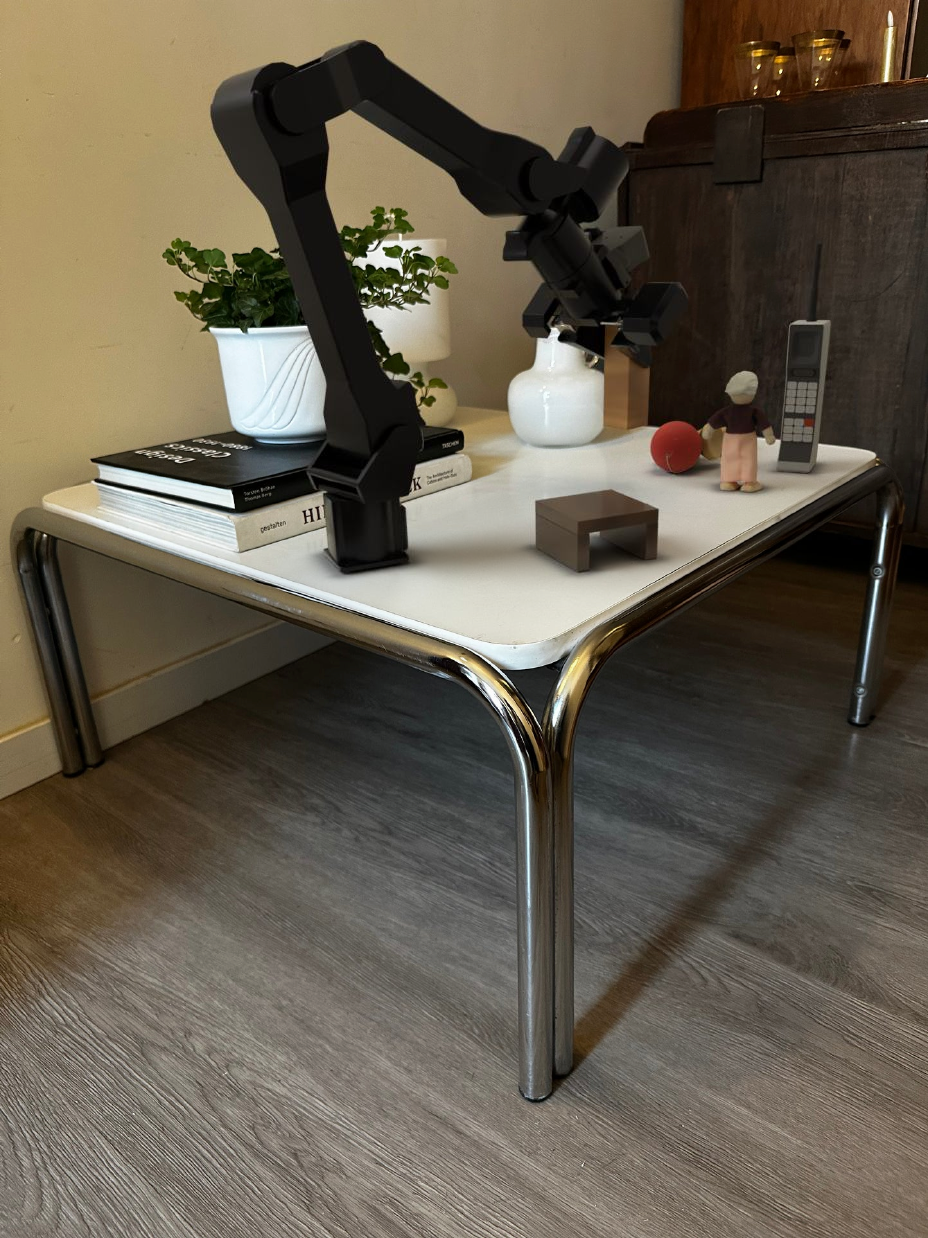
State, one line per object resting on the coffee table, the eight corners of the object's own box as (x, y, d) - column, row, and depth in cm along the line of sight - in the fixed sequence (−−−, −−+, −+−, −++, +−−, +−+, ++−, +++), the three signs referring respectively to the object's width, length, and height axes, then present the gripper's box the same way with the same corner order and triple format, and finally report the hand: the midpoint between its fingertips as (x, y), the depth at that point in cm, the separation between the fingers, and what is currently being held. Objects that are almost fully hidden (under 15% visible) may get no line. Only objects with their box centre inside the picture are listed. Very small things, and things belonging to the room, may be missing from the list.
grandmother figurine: (770, 484, 104) (780, 368, 99) (771, 493, 100) (781, 373, 96) (700, 482, 106) (706, 368, 101) (698, 491, 103) (705, 373, 98)
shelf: (577, 572, 79) (577, 521, 77) (535, 547, 86) (534, 500, 84) (657, 558, 82) (659, 508, 80) (610, 534, 89) (611, 488, 87)
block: (627, 430, 101) (630, 314, 96) (602, 426, 103) (605, 313, 99) (647, 425, 103) (652, 312, 99) (623, 421, 106) (626, 311, 101)
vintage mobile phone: (776, 471, 110) (796, 243, 100) (784, 462, 114) (804, 242, 104) (809, 473, 108) (833, 242, 98) (816, 464, 112) (839, 241, 103)
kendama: (690, 455, 125) (628, 463, 111) (703, 408, 123) (642, 410, 109) (743, 471, 121) (686, 482, 107) (758, 423, 119) (702, 428, 105)
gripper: (682, 189, 86) (743, 307, 96) (539, 201, 99) (607, 304, 110) (623, 285, 84) (692, 394, 94) (486, 284, 97) (560, 379, 108)
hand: (635, 363), depth 102 cm, fingers closed on block, 3 cm apart
